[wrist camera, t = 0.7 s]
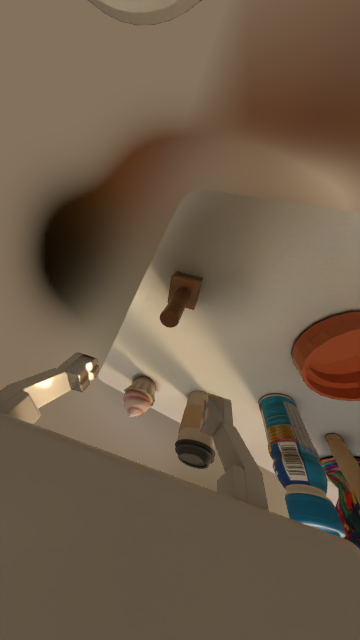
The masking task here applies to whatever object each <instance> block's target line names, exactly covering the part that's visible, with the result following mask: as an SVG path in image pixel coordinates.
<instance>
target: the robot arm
mask: <svg viewBox="0 0 360 640" xmlns="http://www.w3.org/2000/svg"><path fill="white" fill-rule="evenodd" d="M97 363H98V359H97V358H93V357H91V356H88V355H85V354H82V353H78V352H77V353H75V354H74V355H72V356H71V357H70V358H69V359H68V360H66V361H65V362H64V363H63V364H62V365H60V366H59V367H58V368H57V369H56V368H54V369H51V370H48V371H45V372H43V373H40V374H37V375H34V376H32V377H29V378H26V379H23V380H21V381H18V382H15V383H12V384H10V385H8V386H6V387H5V388H3V389H2V390H1V391H0V640H360V549H359V548H358V547H357V546H356V545H354V544H353V543H352V542H350V541H348V540H346V539H344V538H341V537H338V536H336V535H333V534H330V533H328V532H325V531H322V530H319V529H317V528H314V527H311V526H308V525H306V524H303V523H300V522H298V521H295V520H292V519H289V518H287V517H284V516H281V515H279V514H276V513H273V512H270V511H269V510H268V504H267V499H266V493H265V488H264V482H263V477H262V473H261V471H260V469H259V468H258V466H257V464H256V462H255V461H254V459H253V457H252V455H251V454H250V452H249V450H248V448H247V447H246V445H245V443H244V441H243V440H242V438H241V436H240V434H239V433H238V431H237V429H236V427H233V419H232V407H231V401H230V400H229V399H225V398H222V397H220V396H216V395H213V394H209V393H208V394H207V396H206V400H204V402H203V406H202V413H201V414H202V419H201V424H200V432H201V433H204V434H207V435H209V436H212V438H213V440H214V443H215V445H216V449H217V451H218V454H219V457H220V459H221V462H222V465H223V467H224V470H225V473H224V474H223V475H222V476H221V477H220V478H219V479H218V480H217V492H216V491H213V490H211V489H208V488H205V487H202V486H200V485H197V484H194V483H191V482H189V481H186V480H183V479H181V478H178V477H175V476H173V475H170V474H167V473H164V472H161V471H159V470H156V469H153V468H151V467H148V466H145V465H143V464H140V463H137V462H135V461H132V460H129V459H126V458H124V457H121V456H118V455H116V454H113V453H110V452H107V451H104V450H102V449H99V448H96V447H94V446H91V445H88V444H86V443H83V442H80V441H77V440H75V439H72V438H69V437H67V436H64V435H61V434H58V433H56V432H53V431H50V430H47V429H45V428H42V427H39V426H36V425H34V423H35V422H36V421H37V419H38V418H39V417H40V412H39V410H38V408H40V407H41V406H43V405H45V404H46V403H48V402H50V401H52V400H54V399H55V398H57V397H59V396H61V395H62V394H64V393H66V392H68V391H70V390H71V389H73V390H76V391H80V392H83V391H84V390H85V389H86V388H87V387H88V385H89V382H90V380H93V379H94V378H95V377H96V376H97V374H98V372H99V366H98V365H97Z"/></svg>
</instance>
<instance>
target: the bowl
mask: <svg viewBox="0 0 360 640" xmlns="http://www.w3.org/2000/svg"><path fill="white" fill-rule="evenodd" d="M292 358H293V363H294V365H295V367H296V369H297V370H298V372H299V374H300V376H301V377H302V379H303V381H304V382H305V383H306V385H307V386H308V387H309V388H310V389H311V390H313V391H314V392H316V393H318V394H319V395H322V396H325V397H329V398H332V399H337V400H346V401H360V312H350V313H346V314H341V315H337V316H333V317H330V318H328V319H326V320H324V321H321V322H319V323H317V324H315V325H314V326H312V327H311V328H310V329H308V330H307V331H305V332H304V333H303V334H302V335H301V337H300V338H299V339H298V340H297V342H296V343H295V345H294V348H293V352H292Z"/></svg>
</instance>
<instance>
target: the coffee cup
mask: <svg viewBox="0 0 360 640" xmlns="http://www.w3.org/2000/svg"><path fill="white" fill-rule="evenodd" d="M206 396H207V394H206V393H204V392H201V391H194V392H191V393H190V394H189V397H188V401H187V405H186V408H185V410H184V414H183V418H182V422H181V425H180V429H179V435H178V439H177V442H176V443H175V446H176V448H175V450H176V453H177V454H178V457H179V460H180V461H181V462H183V463H184V464H186V465H188V466H190V467H193V468H198V469H205V468H207V467H208V466H209V464H211V463H212V462H213V461H214V456H215V452H214V440H213V438H212V436H209V435H207V434H204V433H201V432H200V424H201V419H202V414H201V413H202V406H203V402H204V400H206Z"/></svg>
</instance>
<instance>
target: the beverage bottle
mask: <svg viewBox="0 0 360 640" xmlns="http://www.w3.org/2000/svg"><path fill="white" fill-rule="evenodd" d="M259 407H260V411H261V414H262V418H263V423H264V427H265V431H266V436H267V440H268V450H269V454H270V456H271V457H272V459H273V461H274V462H273V469H274V471H275V473H276V475H277V477H278V479H279V481H280V482H281V484H282V485H283V487H284V488H285V489H286V490H287V493H286V494H285V500H286V504H287V509H288V513H289V517H290V519H292V520H295V521H298V522H300V523H303V524H306V525H308V526H311V527H314V528H317V529H319V530H322V531H325V532H328V533H330V534H333V535H336V536H338V537H341V538H344V537H345V531H344V527H343V525H342V523H341V520H340V518H339V515H338V513H337V511H336V509H335V506H334V505H333V503H332V501H331V500H330V499H328V498H327V497H326V493H327V477H326V473H325V470H324V469H323V467H322V466H321V465H320V464H319V455H318V453H317V450H316V449H315V447H314V446H313V443H312V441H311V439H310V437H309V434H308V432H307V430H306V428H305V425H304V423H303V421H302V419H301V417H300V414H299V412H298V410H297V407H296V405H295V403H294V401H293V400H292V399H291V398H289V397H287V396H285V395H280V394H271V395H267V396H265V397H263V398H262V399H261V400H260V402H259Z"/></svg>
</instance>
